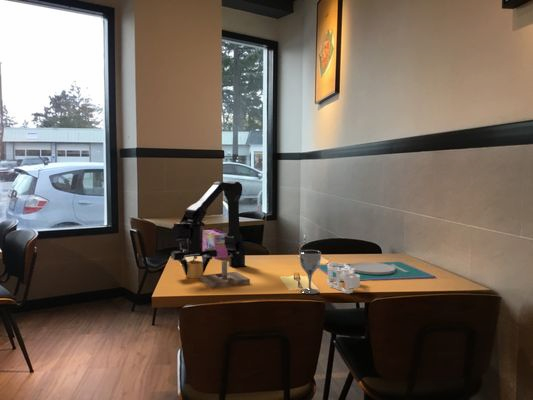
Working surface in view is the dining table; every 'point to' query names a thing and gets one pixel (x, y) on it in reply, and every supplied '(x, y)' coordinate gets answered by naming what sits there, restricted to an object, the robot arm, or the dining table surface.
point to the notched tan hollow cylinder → (194, 269)
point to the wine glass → (310, 266)
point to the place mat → (383, 271)
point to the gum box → (215, 242)
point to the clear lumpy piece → (343, 277)
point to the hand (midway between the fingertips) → (194, 274)
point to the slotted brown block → (224, 278)
